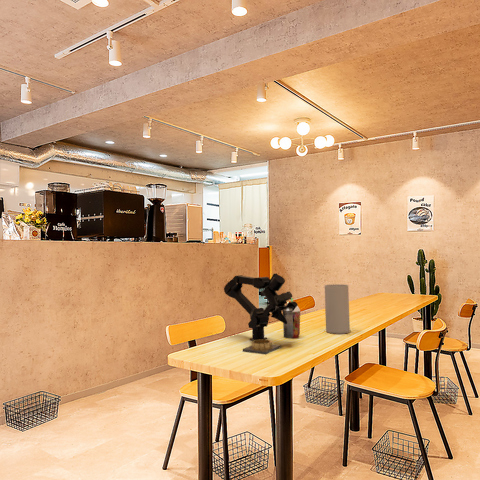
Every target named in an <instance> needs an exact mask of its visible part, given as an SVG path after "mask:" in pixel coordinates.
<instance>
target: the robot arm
mask: <svg viewBox="0 0 480 480" xmlns="http://www.w3.org/2000/svg"><path fill="white" fill-rule="evenodd" d="M285 283H286V279H285V278H284V277H283V276H282V275H279V274H278V273H273V274H272V276H271V278H270V277H269V276H260V277H254V276H246V275H239V274H238V275H235V276H234V277H232V278H231V279H230V280H229V281H228V282H226V284H225V285H224V287H223V290H224V291H223V292H224V294H225V295H226V296H228V297H229V298H232V299H235V300H236V302H237V303H238V305H240V306H241V307H242V308H243V309H244V311H245V312H247V314H248V315H249V322H248V325H247V326H248V328H249V329H252V336H251V338H249V340H250V341H253V340H258V339H266V340H268V338H267V337H265V328H266V327H268V324H269V320H270V317H271V318H273V319H275V320H277V321H280V322H281V323H284V324H287V321H286V319H285V317H284V316H283V309H284V308H292V309H293V311H294V309H295V308H296V307H297V306H299V305H298V303H297V302H296V301H294V300H293V302H291V301H289V300H291V298H293V294H292V292H291V291H286V292H283V293H280V294H278V293H277V292H279V291H280V289H281V288H282V287H283V285H284V284H285ZM243 285H249V286H252V287H254V288H255V289H258V290H261V289H262V290H261V292H260V297H265V299H266V300H267V301H268V302H267V304H268V305H266V307H265V308H263V307H259V308H258V307H256V306H255V305H254V303H252V302H251V301H250V299H248V297H247V296H246V295H245V294H244V293H243V292H242V288H243ZM287 301H289V302H288V303H287ZM293 323H294V317H293Z"/></svg>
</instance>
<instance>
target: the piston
mask: <svg viewBox="0 0 480 480" xmlns="http://www.w3.org/2000/svg"><path fill="white" fill-rule="evenodd" d="M282 314H283V316H284V317H285V319H286V321H287V324H284V323H283V322H282V323H283V324H282V326H283V329H282V330H283V338H285V339H287V338H288V339H293V338H292V337H293V309H292V308H284V309H283V311H282Z"/></svg>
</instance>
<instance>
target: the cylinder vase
mask: <svg viewBox="0 0 480 480" xmlns="http://www.w3.org/2000/svg"><path fill="white" fill-rule="evenodd" d="M349 293H350V292H349V285H348V284H325V285H324V309H325V331H326V332H327V333H329V334H334V335H345V334H348V333H350V331H351V328H350V327H351V325H350V298H349V296H350V295H349Z"/></svg>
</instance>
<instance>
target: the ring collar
mask: <svg viewBox="0 0 480 480" xmlns="http://www.w3.org/2000/svg"><path fill="white" fill-rule="evenodd" d="M281 348H282V345H280V344H273V340H271V339H258V340H251V345H250V346H246V347H245V348H242V352H246V353H255V354H261V355H268V354H271V353H272V352H274V351H276V350H279V349H281Z"/></svg>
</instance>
